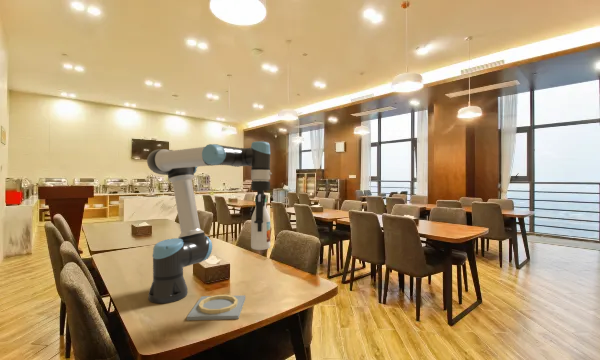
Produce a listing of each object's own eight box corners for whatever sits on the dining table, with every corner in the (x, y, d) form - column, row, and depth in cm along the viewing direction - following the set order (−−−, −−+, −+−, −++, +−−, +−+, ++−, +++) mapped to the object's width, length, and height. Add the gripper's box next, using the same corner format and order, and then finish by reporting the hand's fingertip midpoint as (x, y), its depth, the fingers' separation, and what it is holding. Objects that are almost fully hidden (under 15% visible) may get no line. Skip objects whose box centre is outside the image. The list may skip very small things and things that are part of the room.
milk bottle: (262, 251, 111) (262, 199, 111) (246, 248, 116) (247, 198, 115) (274, 247, 118) (274, 198, 118) (259, 244, 122) (259, 197, 122)
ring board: (186, 320, 102) (186, 313, 102) (201, 299, 120) (201, 293, 120) (238, 318, 103) (238, 312, 103) (245, 298, 121) (245, 292, 121)
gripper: (268, 180, 107) (268, 243, 107) (271, 180, 127) (271, 232, 127) (248, 180, 106) (247, 243, 106) (254, 180, 127) (254, 232, 127)
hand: (260, 237), depth 117 cm, fingers closed on milk bottle, 8 cm apart
